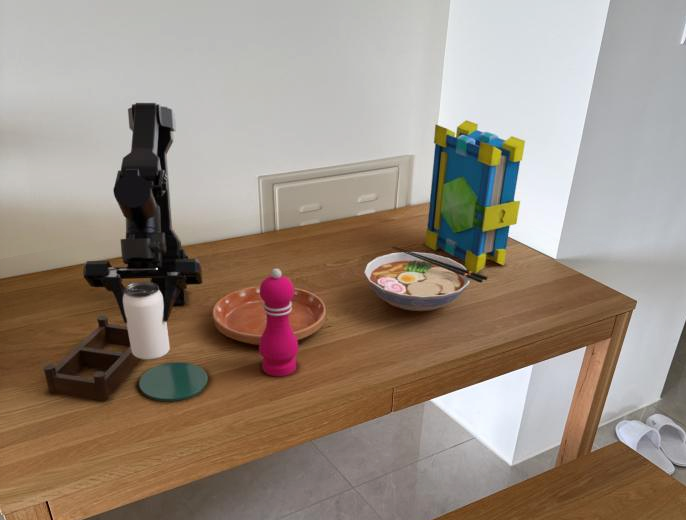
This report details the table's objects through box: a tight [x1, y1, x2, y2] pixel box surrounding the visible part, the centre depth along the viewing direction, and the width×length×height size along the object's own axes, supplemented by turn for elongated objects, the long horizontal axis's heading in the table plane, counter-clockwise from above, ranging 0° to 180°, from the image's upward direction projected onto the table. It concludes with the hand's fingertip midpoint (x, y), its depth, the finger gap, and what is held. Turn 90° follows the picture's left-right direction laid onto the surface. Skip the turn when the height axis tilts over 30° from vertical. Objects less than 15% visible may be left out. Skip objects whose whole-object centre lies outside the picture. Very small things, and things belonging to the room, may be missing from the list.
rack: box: [43, 315, 142, 402], centre depth 131 cm, size 20×11×5 cm, turn 168°
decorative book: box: [424, 119, 526, 274], centre depth 173 cm, size 14×23×30 cm, turn 33°
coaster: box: [138, 362, 209, 402], centre depth 129 cm, size 12×12×1 cm
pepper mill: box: [258, 268, 299, 377], centre depth 129 cm, size 7×7×20 cm
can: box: [123, 281, 171, 361], centre depth 121 cm, size 6×6×12 cm
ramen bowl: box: [364, 246, 488, 312], centre depth 156 cm, size 25×23×8 cm
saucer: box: [212, 285, 327, 346], centre depth 147 cm, size 23×23×4 cm
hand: (145, 321), depth 120 cm, fingers closed on can, 6 cm apart
